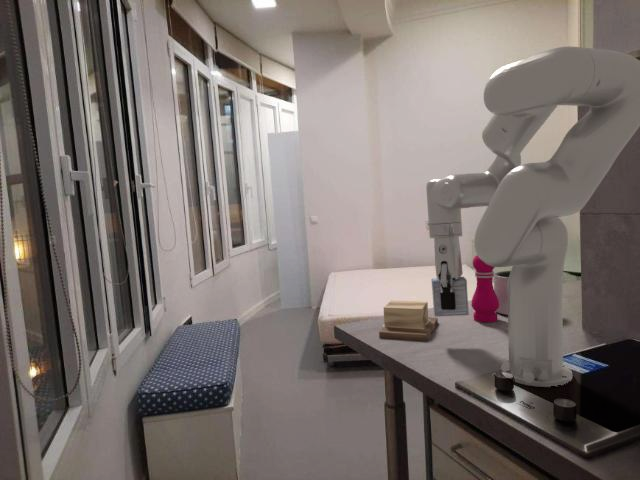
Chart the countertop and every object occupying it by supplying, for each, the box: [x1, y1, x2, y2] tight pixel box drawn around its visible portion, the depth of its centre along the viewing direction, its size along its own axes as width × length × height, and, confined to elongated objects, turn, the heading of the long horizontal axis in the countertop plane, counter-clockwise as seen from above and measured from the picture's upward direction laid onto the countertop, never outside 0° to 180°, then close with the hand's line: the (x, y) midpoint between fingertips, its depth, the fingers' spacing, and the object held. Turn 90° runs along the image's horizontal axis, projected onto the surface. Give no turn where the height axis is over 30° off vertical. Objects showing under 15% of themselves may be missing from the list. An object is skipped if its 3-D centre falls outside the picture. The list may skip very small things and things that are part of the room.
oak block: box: [383, 300, 429, 328], centre depth 127 cm, size 8×10×5 cm
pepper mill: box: [471, 254, 499, 323], centre depth 130 cm, size 7×7×20 cm
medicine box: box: [431, 276, 470, 318], centre depth 113 cm, size 8×4×9 cm, turn 80°
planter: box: [493, 270, 511, 317], centre depth 137 cm, size 13×13×11 cm
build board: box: [378, 316, 439, 342], centre depth 126 cm, size 16×12×2 cm
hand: (450, 305), depth 113 cm, fingers closed on medicine box, 5 cm apart
